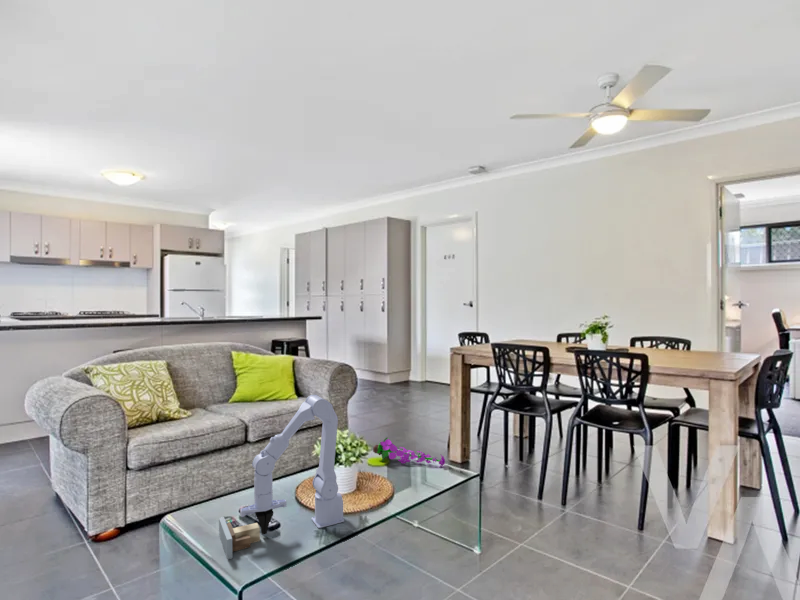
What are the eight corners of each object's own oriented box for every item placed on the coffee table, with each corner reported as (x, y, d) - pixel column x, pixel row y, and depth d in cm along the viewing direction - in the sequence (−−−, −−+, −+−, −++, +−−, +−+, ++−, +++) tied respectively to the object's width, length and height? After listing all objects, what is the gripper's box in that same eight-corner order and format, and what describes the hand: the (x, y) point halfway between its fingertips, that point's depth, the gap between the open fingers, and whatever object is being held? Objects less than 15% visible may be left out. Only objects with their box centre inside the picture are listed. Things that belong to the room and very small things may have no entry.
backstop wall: (223, 534, 156) (223, 516, 156) (232, 558, 142) (232, 538, 142) (219, 535, 155) (218, 517, 155) (227, 559, 141) (227, 539, 141)
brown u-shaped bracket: (244, 534, 156) (244, 519, 156) (250, 547, 148) (250, 531, 148) (225, 539, 153) (225, 523, 153) (230, 552, 145) (230, 536, 145)
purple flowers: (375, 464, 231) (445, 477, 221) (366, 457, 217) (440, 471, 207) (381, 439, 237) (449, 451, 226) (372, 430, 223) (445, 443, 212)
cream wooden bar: (257, 536, 155) (257, 522, 155) (259, 541, 152) (259, 527, 152) (231, 542, 151) (231, 528, 151) (233, 547, 148) (233, 533, 148)
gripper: (282, 482, 161) (282, 522, 161) (238, 491, 154) (238, 533, 154) (288, 490, 155) (288, 531, 155) (242, 499, 148) (242, 542, 148)
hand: (264, 532), depth 154 cm, fingers closed
